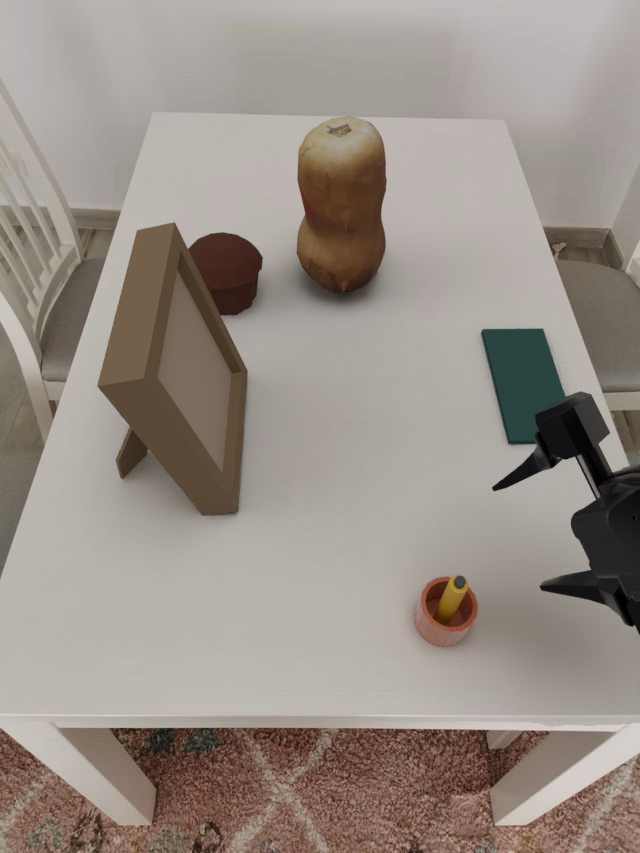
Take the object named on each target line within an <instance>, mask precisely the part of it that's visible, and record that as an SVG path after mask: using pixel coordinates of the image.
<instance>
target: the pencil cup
mask: <svg viewBox="0 0 640 853" xmlns="http://www.w3.org/2000/svg"><path fill="white" fill-rule="evenodd" d="M451 577H452V576H440V577H436V578H434V579H432V580H430V581H429V582H428V583H427V584H426V585H425V587H424V588H423V590H422V592H421V594H420V596H419V599H418V602H417V604H416V607H415V610H414V616H413V617H414V618H413V620H414V624H415V628H416V630H417V633H419V635H420V636H421V638H422V639H424V640H425V641H426V642H427V643H429V644H431V645H432V646H436V647H439V648H448V647H453V646H455V645H457V644H458V643H460V642H461V641H463V639H464V637H465V636H466V634H467V632H469V630H470V628H471V626H472V625H473V623H474V621H475V620H476V619H477V616H478V610H479V603H478V601H477V596H476V594H475V593H474V591H473V590H472V589H471V588H470V586H468V590H467V591H466V593H465V595H464V597H463V599H462V601H461V603H460V604H459V606H458V608H457V610H456V612H455V614H454V616H453V618H452V619H451V621H450V623H449V625H448V626H444V625H441V624H439V623H438V622H437V621H435V620H434V619H433V615H434V613H435V611H436V609H437V606H438V604H439V602H440V600H441V598H442V596H443V593H444V591H445V589H446V587H447V585H448V582H449V580H450V578H451Z"/></svg>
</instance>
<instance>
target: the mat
mask: <svg viewBox="0 0 640 853" xmlns="http://www.w3.org/2000/svg"><path fill="white" fill-rule="evenodd" d="M481 338H482V341H483V346H484V349H485V353H486V357H487V362H488V366H489V369H490V374H491V378H492V383H493V386H494V390H495V395H496V398H497V402H498V407H499V410H500V415H501V418H502V424H503V427H504V431H505V436H506V439H507V444H508V445H536V442H535V440H534V433H535V432H536V431H538V430H539V429H538V427H537V425H536V419H535V414H537V413H538V412H540V411H541V410H543V409H545V408H546V407H548V406H549V405H551V404H552V403H554V402H556V401H557V400H559V399H562V398H564V397H566V393H565V391H564V388H563V385H562V382H561V379H560V375H559V373H558V370H557V367H556V364H555V361H554V358H553V354H552V351H551V349H550V346H549V343H548V340H547V337H546V333H545V330H544V328H482V329H481Z"/></svg>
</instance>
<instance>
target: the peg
mask: <svg viewBox="0 0 640 853" xmlns="http://www.w3.org/2000/svg"><path fill="white" fill-rule="evenodd" d="M450 577H451V578H450V580H449V582H448V585H447V587H446V589H445V591H444V593H443V596H442V598H441V600H440V602H439V604H438V606H437V609H436V611H435V613H434V615H433V619H434V620H435V621H437V622H438V623H439V624H441V625H444V626H448V625H449V623H450V621H451V619H452V618H453V616H454V614H455V612H456V610H457V608H458V606H459V604H460V603H461V601H462V599H463V597H464V595H465V593H466V591H467V590H468V586H469V581H468V580H467V578H466V577H465V576H463V575H460V574H455V575H453V576H450ZM469 587H470V586H469Z"/></svg>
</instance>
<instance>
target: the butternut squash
mask: <svg viewBox="0 0 640 853" xmlns="http://www.w3.org/2000/svg"><path fill="white" fill-rule="evenodd" d="M297 154H298V155H297V177H296V180H297V184H298V189H299V193H300V197H301V202H302V205H303V206H302V207H303V210H304V216H303V218H302V220H301V222H300V225H299V228H298V231H297V237H296V239H297V240H296V256H297V258H298V261H299V264H300V266H301V268H302V269H303V271H304V272H305V274H306V275H307V276H308V277H309V278H310V279H311V281H312V282H315V284H317V285H318V286H319V287H320V288H321V289H324V290H326V291H329V292H331V293H335V294H336V293H344V294H347V295H349V294H351V293H354V292H356V291H359V290H361V289H363V288H365V287H366V286H367V285H368V284H369V283H371V281H372V280H373V279H374V277H375V276H376V275H377V273H378V272H379V269H380V267H381V265H382V261H383V260H384V257H385V253H386V248H387V239H386V231H385V229H384V223H383V218H382V210H383V209H382V208H383V204H384V203H383V202H384V200H385V196H386V192H387V181H388V179H387V167H386V166H387V161H386V160H387V159H386V151H385V143H384V141H383V137H382V135H381V133H380V131H379V130H378V129H377V128H376V126H375V125H374V124H373V123H371V122H370V121H367V120H365V119H363V118H360V117H355V116H339V117H333V118H330V119H327V120H325V121H323V122H322V123H320V124H319V125H317V126H315V127H314V128H312V129H311V130H310V131H308V133H307V134H305V136H304V138H303V141H302V143H301V144H300V146H299V148H298V152H297Z"/></svg>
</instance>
